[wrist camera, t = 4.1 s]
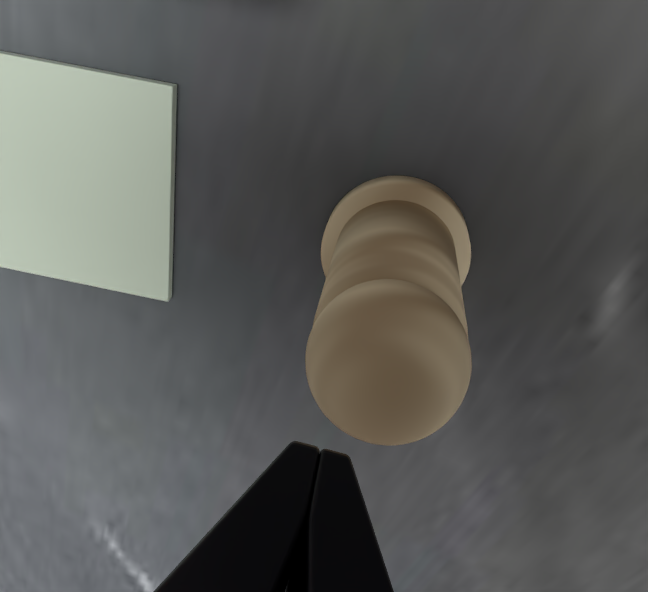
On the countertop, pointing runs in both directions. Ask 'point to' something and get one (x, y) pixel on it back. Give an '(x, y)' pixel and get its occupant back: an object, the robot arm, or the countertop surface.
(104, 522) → the countertop surface
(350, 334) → the pawn
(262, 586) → the robot arm
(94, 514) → the countertop surface
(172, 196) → the pad
